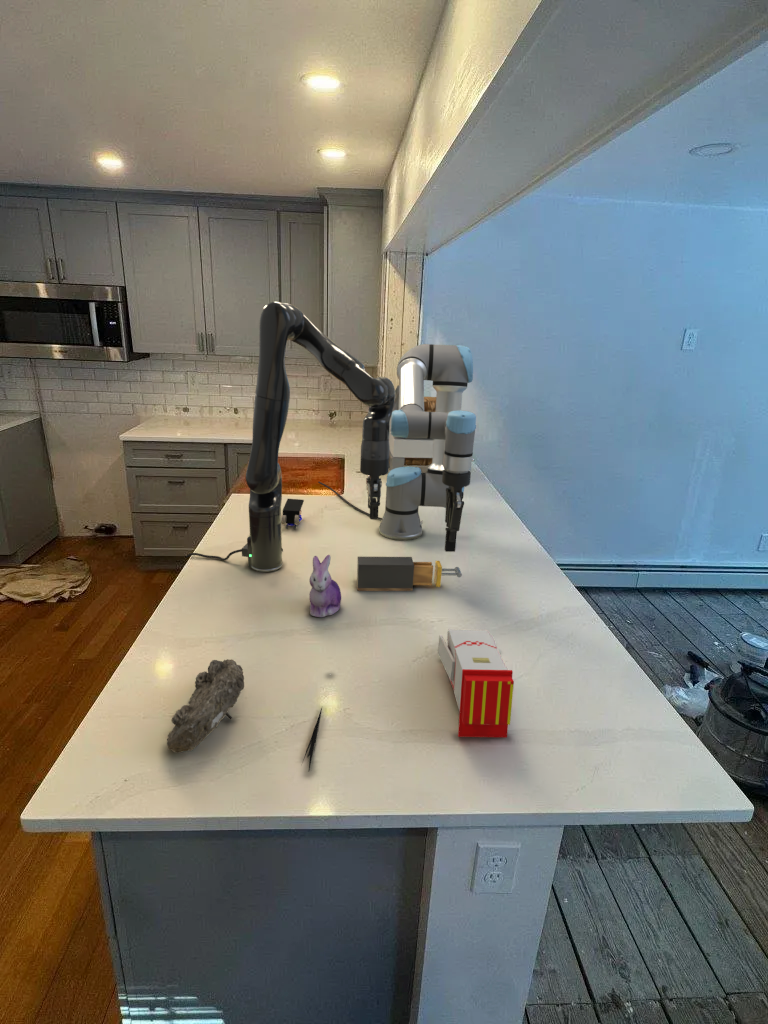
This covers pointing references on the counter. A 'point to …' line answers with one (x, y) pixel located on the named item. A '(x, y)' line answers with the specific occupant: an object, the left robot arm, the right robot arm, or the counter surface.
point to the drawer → (431, 573)
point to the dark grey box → (385, 574)
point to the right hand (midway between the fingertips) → (449, 550)
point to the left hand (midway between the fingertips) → (372, 513)
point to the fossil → (206, 705)
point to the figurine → (323, 590)
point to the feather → (313, 740)
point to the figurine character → (292, 512)
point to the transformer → (411, 442)
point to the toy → (478, 682)
